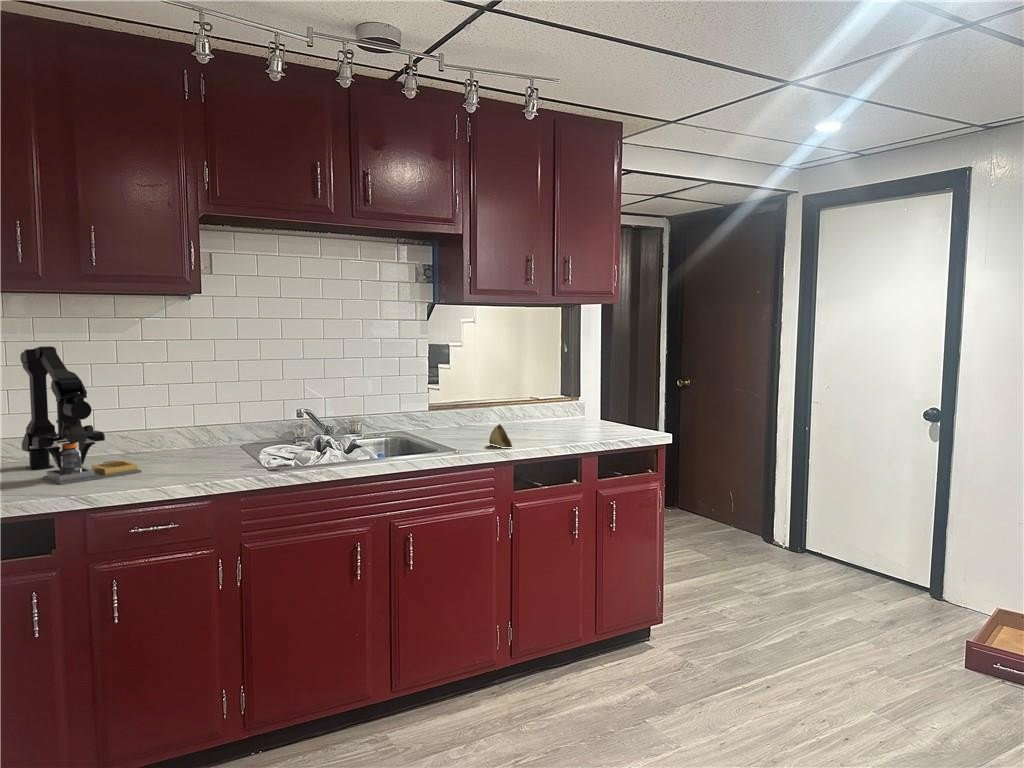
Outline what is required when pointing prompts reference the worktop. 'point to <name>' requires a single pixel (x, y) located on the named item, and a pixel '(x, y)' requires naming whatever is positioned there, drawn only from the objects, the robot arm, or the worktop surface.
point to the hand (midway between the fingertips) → (70, 466)
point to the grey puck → (109, 462)
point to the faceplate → (93, 472)
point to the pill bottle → (70, 459)
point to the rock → (500, 437)
